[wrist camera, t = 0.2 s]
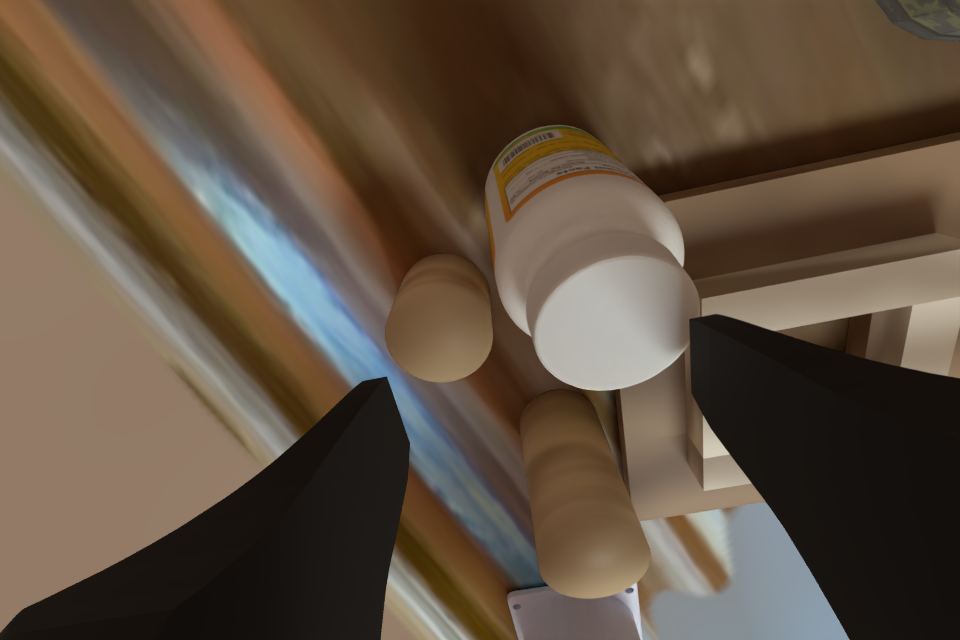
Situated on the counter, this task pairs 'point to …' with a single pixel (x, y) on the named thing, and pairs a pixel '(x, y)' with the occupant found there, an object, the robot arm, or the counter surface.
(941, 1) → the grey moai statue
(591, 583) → the long oak dowel
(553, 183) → the supplement bottle
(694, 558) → the counter surface
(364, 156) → the counter surface
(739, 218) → the collar board
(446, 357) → the short oak dowel
